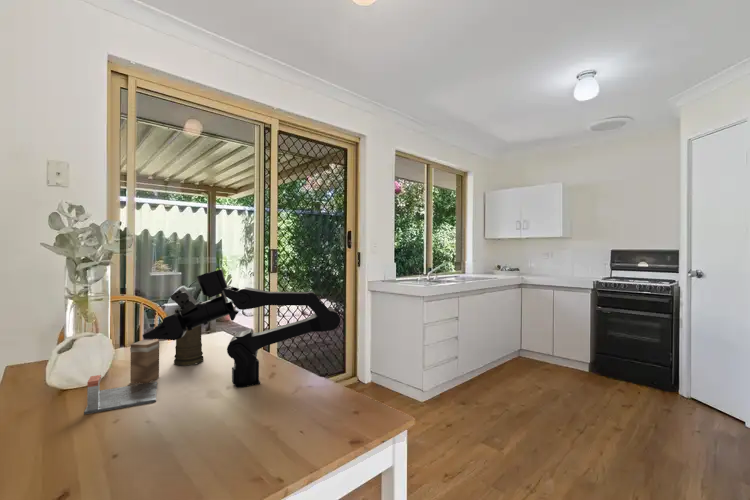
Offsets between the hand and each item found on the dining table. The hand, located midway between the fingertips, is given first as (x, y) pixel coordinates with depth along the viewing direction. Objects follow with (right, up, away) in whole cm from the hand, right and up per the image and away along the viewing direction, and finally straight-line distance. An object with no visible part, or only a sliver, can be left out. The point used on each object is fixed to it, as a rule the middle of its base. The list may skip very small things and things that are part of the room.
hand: (149, 332), depth 96 cm
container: (-3, -16, +26) cm, 30 cm away
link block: (-7, -16, +8) cm, 19 cm away
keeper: (-4, -16, -4) cm, 17 cm away
